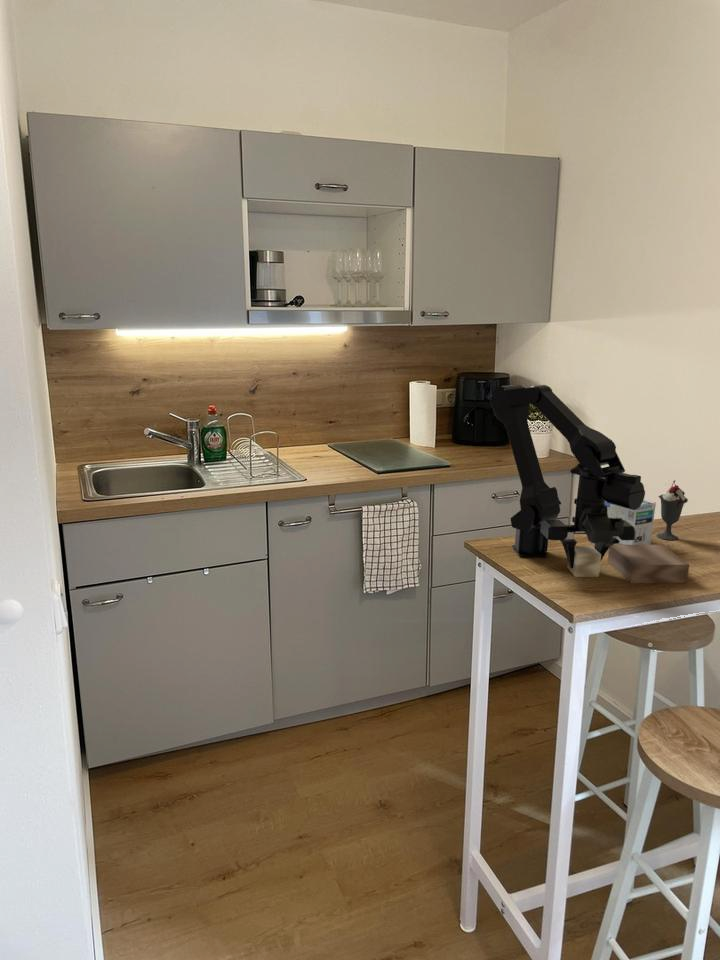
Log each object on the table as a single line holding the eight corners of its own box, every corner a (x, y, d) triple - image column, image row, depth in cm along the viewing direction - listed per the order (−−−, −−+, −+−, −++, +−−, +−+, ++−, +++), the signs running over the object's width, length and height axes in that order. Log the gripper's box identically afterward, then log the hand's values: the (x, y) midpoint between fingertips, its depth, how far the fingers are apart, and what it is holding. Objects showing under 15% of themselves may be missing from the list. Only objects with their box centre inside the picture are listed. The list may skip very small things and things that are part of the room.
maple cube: (575, 576, 153) (578, 554, 151) (567, 567, 157) (569, 546, 156) (598, 576, 153) (601, 554, 152) (589, 567, 158) (592, 546, 157)
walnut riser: (631, 583, 150) (633, 565, 149) (607, 561, 162) (609, 544, 161) (686, 582, 151) (689, 564, 150) (659, 561, 163) (661, 544, 162)
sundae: (660, 541, 175) (668, 482, 172) (648, 532, 182) (656, 474, 178) (686, 542, 176) (695, 482, 172) (674, 532, 182) (682, 475, 178)
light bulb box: (651, 545, 173) (657, 502, 170) (632, 549, 170) (638, 505, 167) (616, 531, 182) (621, 490, 179) (597, 535, 179) (602, 493, 176)
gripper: (560, 509, 142) (553, 583, 146) (652, 509, 144) (642, 582, 148) (542, 493, 153) (536, 562, 157) (628, 493, 155) (619, 562, 159)
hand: (583, 567), depth 155 cm, fingers closed on maple cube, 5 cm apart
